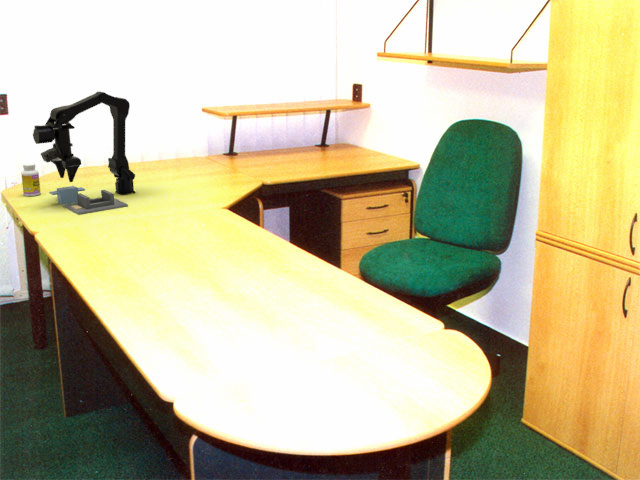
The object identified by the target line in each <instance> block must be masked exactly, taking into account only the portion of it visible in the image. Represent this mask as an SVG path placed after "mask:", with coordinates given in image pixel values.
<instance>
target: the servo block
mask: <svg viewBox="0 0 640 480" xmlns="http://www.w3.org/2000/svg"><path fill="white" fill-rule="evenodd" d="M84 191H86V188H83V187H82V186H79V187H77V186H74V185H71V186H64V187H63V186H62V187H58V188H57V187H56V190H52V191H48V192H49V194H50V195H52V196H56V197H57V204H59V205H61V206H64V205H68V204H74V203H78V202H77V194H79V192H84Z"/></svg>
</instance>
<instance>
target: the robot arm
mask: <svg viewBox="0 0 640 480" xmlns="http://www.w3.org/2000/svg"><path fill="white" fill-rule="evenodd" d="M100 104H104V105H105V106H107V107H109V111H110V112H109V113H110V115H111V117H112V119H113V121H112V122H113V129H112V130H113V132H112V133H113V134H112V135H113V143H112V144H113V149H112V150H113V153H112V156H111V157H108V159H107V161H108V166H107V168H108V169H109V171H110V173H111V174H112V175H113V176H114V178H116V179H115V183H114V185H115V191H114V192H115V193H116V194H119V195H122V196H125V195H129V194H135V193H136V191H135V189H134V180H135V177H136V174H135V173H134V172H133V171H132V170H131V169H130V165H129V160H128V158H127V155H126V120H127V118H128V115H129V113H130V112H129V111H130V108H131V107H130V101H128V100H127V99H126V98H123V97H118V96H113V95H110V94H108V93H106V92H104V91H97V92H95V93H93V94H91V95H89V96H87V97H85V98H82V99H80V100H78V101H76V102H74V103H72V104H69V105H62V106H58V107H54V108H52V109H51V111H50V113H49V117H48V119H47V120H46V122H45V124H44V125H43V124H42V125H34V129H33V133H32V137H33V141H34V143H35V144H37V145H40V144H49V143H53V142H54V143H53V144H52V148H49V149H47V150H44V151H42V152H41V153H40V157H41V159H43V161H44V162H45V163H51V164H54V166H55V167H56V170H57V172H58V175H59V177H60V178H61V179H64V178H65V174H66V173H67V178H68V181H69V183H73V182H74V180H75V177H76V174H77V172H78V169H79V167H80V166H81V165H82V159H80V158H79V157H77V156H75V154H74V153H73V152H72V147H73V146H74V144H73V143H71V134H70V130H73V129H75V128H76V127H75V126H74V125H73V124H72V123H71V121H72V120H74V119H75V118H76V117H77V116H78V115H79V114H81V113H83V112H86V111H88V110H89V109H92V108H94V107H96V106H98V105H100Z"/></svg>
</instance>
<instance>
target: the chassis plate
mask: <svg viewBox="0 0 640 480" xmlns="http://www.w3.org/2000/svg"><path fill="white" fill-rule="evenodd" d="M100 195H101V197H95V198H90V197H89V196H87V195H85V194H83V193H79V192H78V194H77V203H70V204H64V205H63V207H64V208H66V209H67V210H69V211H71V212H72V213H75V214H77V215H78V216H80V215H85V214H86V215H87V214H90V213H97V212H102V211H103V212H104V211H108V210H114V209H115V210H116V209H121V208H126V207H129V204H127V203H126V202H123V201H121V200H119V199H117V198H116V197H115V195H114V193H113V192H110V191H108V190H106V189H101V190H100Z"/></svg>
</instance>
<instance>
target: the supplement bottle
mask: <svg viewBox="0 0 640 480" xmlns="http://www.w3.org/2000/svg"><path fill="white" fill-rule="evenodd" d="M22 168H23V170H22V171H21V184H22V192H23V193H22V194H23V195H24V196H26V197H36V196H40V195H41V186H40V185H41V183H40V174H39V171H38V170H37V169H36V164H35V163H32V162H31V163H23V165H22Z"/></svg>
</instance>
